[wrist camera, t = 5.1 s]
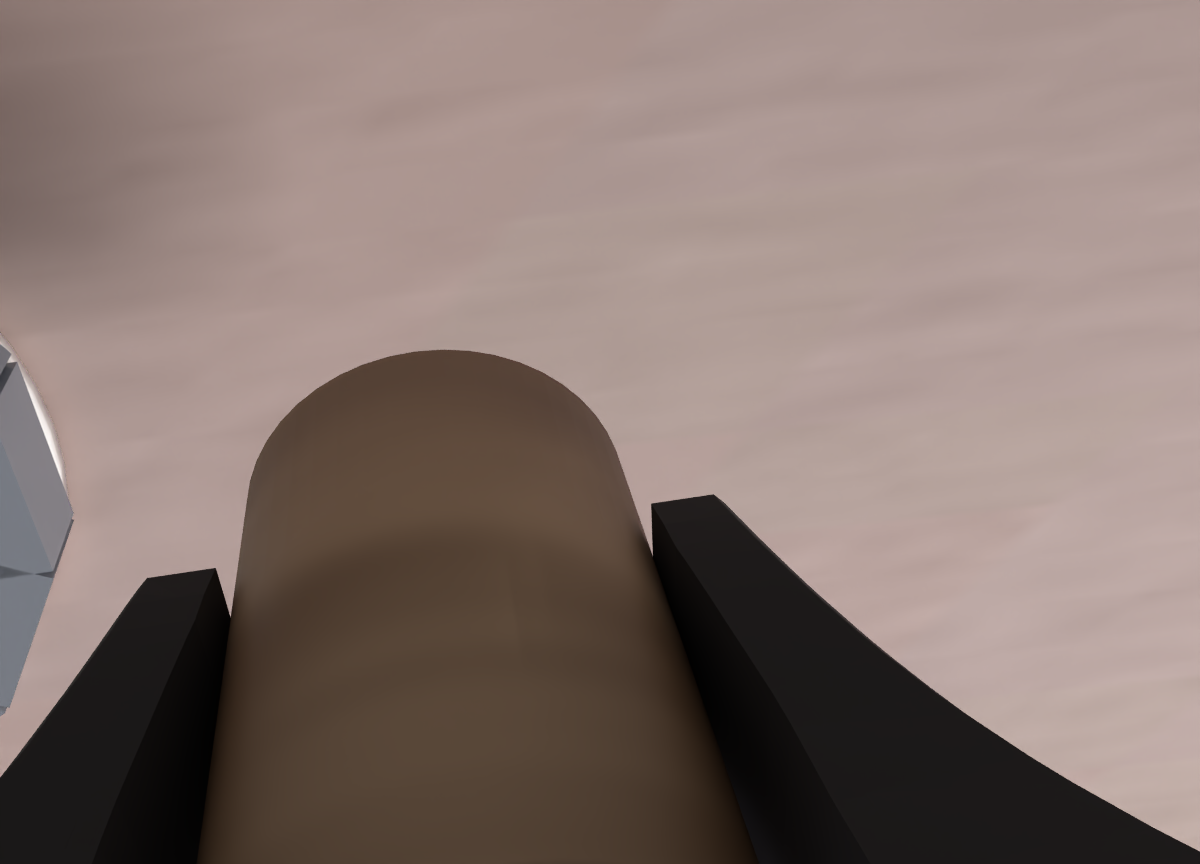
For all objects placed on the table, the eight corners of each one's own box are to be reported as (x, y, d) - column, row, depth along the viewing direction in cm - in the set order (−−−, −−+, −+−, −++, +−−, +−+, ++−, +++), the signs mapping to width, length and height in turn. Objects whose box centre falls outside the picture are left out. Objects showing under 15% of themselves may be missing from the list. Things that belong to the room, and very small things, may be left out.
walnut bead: (630, 624, 14) (790, 1162, 9) (288, 679, 13) (246, 1284, 8) (616, 325, 11) (817, 809, 6) (206, 378, 11) (77, 946, 6)
